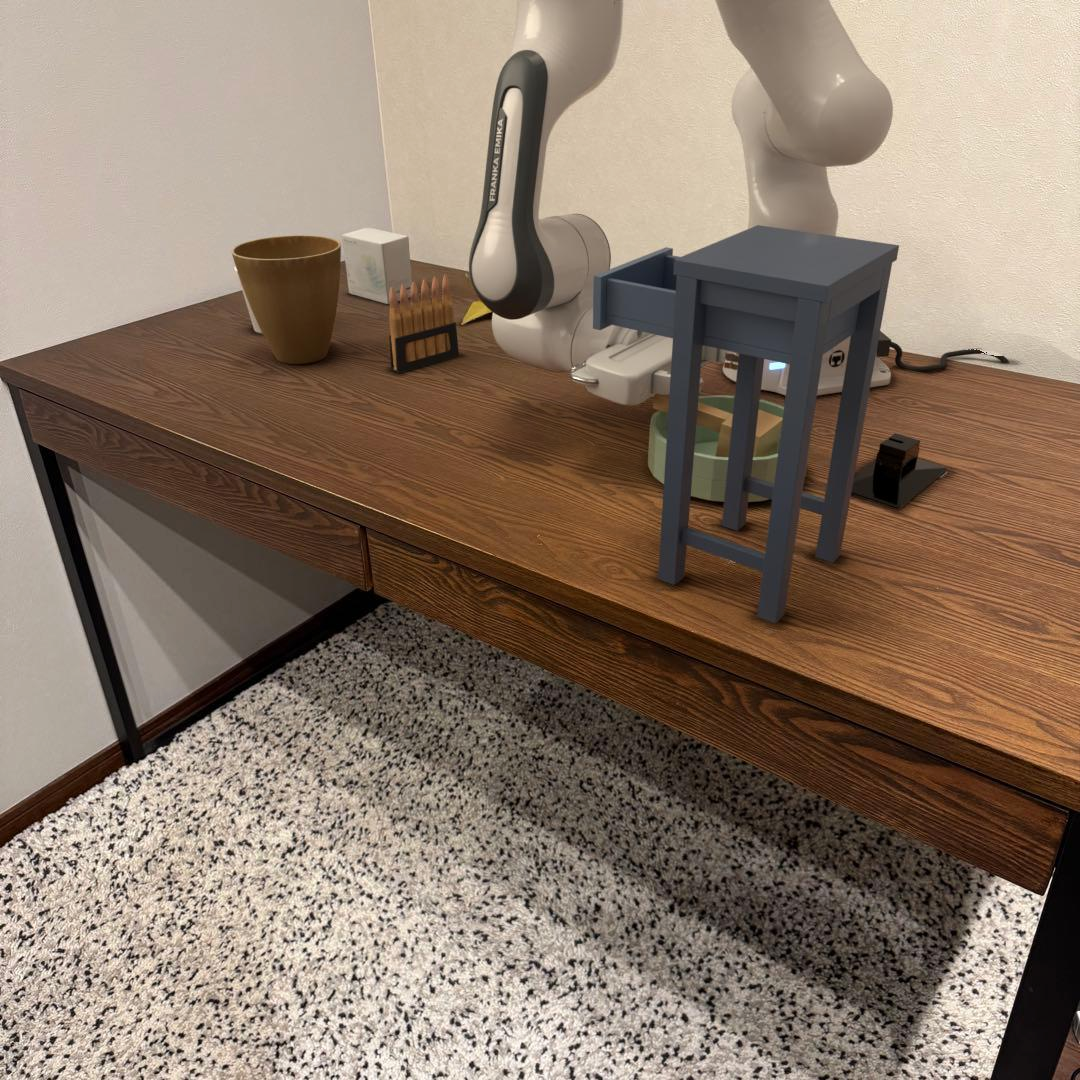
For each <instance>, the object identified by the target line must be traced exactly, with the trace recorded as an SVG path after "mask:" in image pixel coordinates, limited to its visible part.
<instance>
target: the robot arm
mask: <svg viewBox="0 0 1080 1080" xmlns="http://www.w3.org/2000/svg"><path fill="white" fill-rule="evenodd" d="M714 1H715V4H716V7H717V10H718V12H719V15H720V18H721V21H722V23H723V26H724V29H725V32H726V34H727V37H728V39H729V40H730V42H731V44H732V45H733V47H735V49H737V50H738V52H739V53H740V54H741V55H742V57H743V58H744V59H745V61H746V62H747V64H749V67H750V68H748V69H747V70H746V71H745V72H744V73H743V74H742V75H741V77H740V78H739V79H738V81H737V83H736V85H735V87H734V91H733V93H732V97H731V106H730V107H731V116H732V119H733V120H732V121H733V122H734V124H735V127H736V128H737V130H738V133H739V136H740V140H741V144H742V151H743V159H744V165H745V166H744V167H745V174H746V181H747V182H746V183H747V191H748V192H747V193H748V209H749V210H748V225H747V229H749V228H752V227H754V226H757V225H760V226H767V227H774V228H781V229H788V230H795V231H802V232H809V233H816V234H823V235H831V236H837V230H838V224H839V208H838V204H837V201H836V199H835V197H834V196H833V195H834V194H833V192H832V191H831V186H830V182H829V178H828V171H827V168H832V167H833V168H835V167H845V166H854V165H857V164H860V163H862V162H864V161H866V160H867V159H869V158H871V157H872V156H873V155H874V154H875V153H876V152H877V151H878V150H879V149H880V148H881V146H882V145H883V143H884V141H885V140H886V138H887V136H888V134H889V132H890V130H891V129H890V128H891V126H892V123H893V122H892V121H893V116H894V111H893V110H894V106H893V99H892V95H891V93H890V91H889V88H888V87H887V86H886V84H885V83H884V82H883V81H882V80H881V79H880V78H879V77H878V76H877V75H876V74H875V73H874V72H873V71H872V70H871V69H870V68H869V67H868V65H867V64H866V62H865V61H864V60H863V58H862V56H861V55H860V53H859V52H858V50H857V48H856V46H855V45H854V43H853V41H852V39H851V37H850V36H849V34H848V32H847V30H846V28H845V27H844V25H843V23H842V22H841V19H840V18H839V16H838V15H837V12H836V11H835V9H834V7H833V6H832V3H831V1H830V0H714ZM515 17H516V18H515V25H514V26H515V27H514V32H513V39H512V43H511V48H510V52H509V55H508V57H507V60H506V62H505V63H504V65H503V66H502V68H501V70H500V73H499V75H498V78H497V82H496V86H495V91H494V97H493V103H492V110H491V117H490V124H489V125H490V126H489V134H488V143H487V153H486V164H485V171H484V172H485V173H484V181H483V182H484V183H483V191H482V199H481V208H480V214H479V219H478V224H477V227H476V231H475V234H474V236H473V240H472V242H471V247H470V252H469V258H468V271H469V273H468V275H469V277H470V279H471V283H472V286H473V288H474V290H475V291H474V290H473V291H474V293H475V294H476V296H477V298H478V299H479V301H480V300H481V301H482V302H483V303H484V305H485V306H486V307H487V308H488V309H490V310H491V311H492V312H491V313H492V315H491V330H492V334H493V335H492V336H493V337H494V340H495V342H496V344H497V345H498V347H499V348H500V349H501V350H502V351H503V352H504V353H505V354H507V355H508V356H509V357H511V358H512V359H514V360H516V361H518V362H521V363H522V364H525V365H529V366H531V367H533V368H537V369H540V370H543V371H546V372H550V373H555V374H563V373H567V374H569V378H570V379H571V381H572V382H574V383H577V384H580V385H585V390H586V391H587V392H588V393H590V394H592V395H594V396H596V397H599V398H600V399H604V400H607V401H609V402H613V403H615V404H618V405H622V406H638V405H640V404H642V403H643V402H645V401H647V400H649V399H650V398H652V397H654V396H655V394H661V395H669V393H670V377H671V361H672V345H673V338H669V337H664V336H660V335H655V334H651V333H646V332H642V331H637V330H633V329H628V328H624V327H619V326H615V325H611V326H608V327H606V328H604V329H602V330H596V329H593V288H594V275H597V274H599V273H602V272H604V271H607V270H609V269H611V264H612V263H611V261H612V254H611V248H610V243H609V240H608V238H607V235H606V233H605V232H604V230H603V229H602V227H601V226H600V225H599V224H598V223H597V222H596V221H595V220H594V219H592V218H591V217H589V216H587V215H585V214H581V213H569V214H561V215H560V214H559V215H553V216H546V217H544V218H539V217H540V215H539V213H540V204H541V196H542V188H543V181H544V171H545V164H546V162H545V161H546V154H547V147H548V143H549V140H550V136H551V134H552V131H553V129H554V127H555V125H556V124H557V123H558V122H559V119H560V118H561V117H562V115H564V114H565V113H566V112H567V110H569V108H571V107H572V106H573V105H574V104H575V103H576V102H578V101H579V100H581V99H583V98H584V97H586V96H588V95H589V94H590V93H591V92H593V91H594V90H595V89H597V88H598V87H599V86H600V85H601V84H602V83H603V82H604V81H605V80H606V79H607V77H608V76H609V75H610V73H611V72H612V70H613V69H614V67H615V65H616V62H617V58H618V54H619V50H620V45H621V40H622V34H623V33H622V32H623V22H624V20H623V19H624V0H516V16H515ZM850 339H851V336H850V337H848V338H847V339H845V340H844V341H842V342H841V343H839V344H838V345H836V346H835V347H834V348H832V349H831V350H829V351H828V352H826V353H825V354H823V357H822V364H821V370H820V377H819V384H818V391H817V396H823V395H829V394H830V395H831V394H836V393H842V388H843V382H844V376H845V369H846V363H847V357H848V351H849V345H850ZM891 348H892V349H893V350H894V351H895V353H896V354H895V358H894V364H896V366H897V367H898V368H899V369H901V370H907V371H912V372H915V373H916V372H918V373H926V372H927V373H928V372H936V371H941V370H943V369H944V368H946V366H947V364H948V363H947V361H948V360H947V359H948V358H949V359H950V358H955V357H960V356H961V357H962V356H968V355H982V354H981V353H984V352H982V351H980V350H977V349H978V348H967V349H968V350H966V349H960V350H953V351H947V352H945V353H943V354H942V355H941V357H940V363H938V364H932V365H924V366H913V365H909V364H906V363H904V362H903V361H902V356H903V349H902V347H901V346H900V345H899V344H898V343H896V342H894V341H892V339H891V338H890V337H889V336H887V335H886V334H885V333H884V332H883V331H881V330H880V335H879V340H878V346H877V351H876V357H875V363H874V368H873V374H872V380H871V385H870V388H877V387H882V386H883V387H884V386H888V385H890V383H891V380H892V371H891V370H890V368H889V367H888V365H887V364H886V363H885V362H884V361H883V360H882V359H880V358H884V357H885V358H886V357H889V355H890V350H891ZM970 349H971V350H970ZM974 349H976V350H974ZM986 353H987V352H986ZM983 355H986V356H988V355H987V354H985V353H984V354H983ZM989 356H990V357H994V358H995V359H997V360H999V361H1000V362H1001V363H1002V364H1008V365H1009V364H1010V361H1009V360H1008V358H1007V357H1005V355H1003V356H994V355H989ZM738 357H739V353H736V352H731V351H727V350H722V349H718V348H713V347H709V346H704V345H703V346H702V359H701V368H703V367H705V366H706V365H708V364H709V363H717V362H719V363H721V364H723V365H722V372H723V374H724V375H725V376H726V378H728V379H729V380H731V381H733V382H735V383H736V377H737V367H738ZM789 366H790V364H785V363H781V362H776V361H772V360H767V359H764V367H763V375H762V384H761V391H768V392H774V393H776V394H779V395H782V396H785V397H786V389H787V381H788V373H789ZM703 391H704V378H703V377H702V376H700V384H699V394H700V393H702V392H703Z"/></svg>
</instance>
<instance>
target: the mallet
mask: <svg viewBox="0 0 1080 1080" xmlns="http://www.w3.org/2000/svg"><path fill="white" fill-rule="evenodd" d="M652 409H654V410H657V411H658V410H659V411H662V412H665V413H667V414H668V409H669V395H661V394H655V395H654V396H653V404H652ZM732 417H733V414H731V413H728V412H725V411H722V410H720V409H717V408H714V407H711V406H708V405H705V404H703V403H700V402H698V410H697V422H696V424H697V425H700V426H703V427H705V428H708V429H711V430H713V431H716V432H719V433H720V434H719V439H718V445H717V450H716V455H715V457H729V447H730V437H731V427H732ZM782 420H783V418H782V417H779V416H776V415H773V414H770V413H767V412H764V411H761V410H758V419H757V428H756V436H755V445H754V454H753V457H766V456H770V455H774V454H776V451H777V447H778V443H779V439H780V434H781V427H782Z"/></svg>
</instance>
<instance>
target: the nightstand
mask: <svg viewBox="0 0 1080 1080" xmlns="http://www.w3.org/2000/svg"><path fill="white" fill-rule="evenodd" d="M899 250H900V245H899V244H894V243H887V242H878V241H872V240H867V239H866V240H865V239H858V238H851V237H844V236H837V235H836V236H831V235H823V234H816V233H809V232H802V231H795V230H788V229H781V228H774V227H767V226H760V225H757V226H754V227H752V228H749V229H748V228H747V229H745V230H742V231H740V232H737V233H735V234H732V235H730V236H727V237H725V238H723V239H721V240H718V241H716V242H713V243H711V244H709V245H706V246H704V247H701V248H699V249H697V250H694V251H692V252H689V253H687V254H685V255H682V256H680V255H679V256H677V255H673V253H674V248H672V247H667V246H666V247H663V248H661V249H658V250H655V251H653V252H650V253H648V254H645V255H642V256H639V257H637V258H635V259H632V260H630V261H627V262H624V263H622V264H619V265H617V266H614V267H612V268H610V269H609V270H607V271H604V272H602V273H599V274H597V275H594V288H593V329H596V330H602V329H604V328H606V327H608V326H611V325H615V326H619V327H624V328H628V329H633V330H637V331H642V332H646V333H651V334H655V335H660V336H664V337H669V338H673V345H672V361H671V377H670V393H669V409H668V425H667V441H666V458H665V474H664V484H663V491H662V508H661V523H660V524H661V525H660V539H659V556H658V574H657V580H660V581H662V582H665V583H667V584H669V585H672V586H676V585H677V584H678V583H679V582H680V581H681V580H682V579H684V578H685V573H686V561H687V547H691V548H693V549H696V550H700V551H702V552H705V553H708V554H710V555H714V556H716V557H719V558H722V559H725V560H727V561H731V562H734V563H736V564H739V565H742V566H744V567H747V568H750V569H753V570H756V571H759V572H762V574H761V583H760V591H759V597H758V604H757V612H756V617H757V618H759V619H762V620H764V621H766V622H769V623H772V624H777V623H778V622H779V621H780V620H781V619H782V618H783V617H784V616H785V613H786V608H787V600H788V593H789V587H790V586H789V585H790V580H791V572H792V566H793V559H794V554H795V553H794V552H795V544H796V537H797V533H798V532H797V531H798V526H799V518H800V512H801V510H804V511H807V512H810V513H814V514H817V515H820V516H821V518H820V524H819V529H818V530H819V531H818V535H817V542H816V549H815V554H814V557H815V558H817V559H820V560H822V561H826V562H828V563H831V564H834V563H835V561H836V560H838V558H839V557H840V556H841V552H842V549H843V542H844V535H845V530H846V524H847V520H848V514H849V508H850V503H851V498H852V495H851V492H852V486H853V481H854V475H855V473H856V468H857V462H858V457H859V453H860V447H861V441H862V435H863V429H864V424H865V418H866V412H867V406H868V401H869V396H870V390H871V387H870V385H871V380H872V374H873V368H874V363H875V357H876V351H877V346H878V340H879V335H880V331H881V328H882V323H883V317H884V312H885V306H886V302H887V295H888V289H889V283H890V277H891V273H892V266H893V263H894V262H896V261H897V259H898V254H899ZM850 336H851V339H850V345H849V351H848V357H847V363H846V369H845V376H844V382H843V388H842V392H841V393H840V394H841V395H840V401H839V407H838V414H837V420H836V425H835V431H834V437H833V443H832V450H831V456H830V462H829V468H828V474H827V480H826V481H827V482H826V487H825V493H824V497H821V496H817V495H814V494H810V493H807V492H804V484H805V479H806V476H805V472H806V473H807V469H806V465H807V466H808V462H807V458H808V459H809V455H808V452H809V453H810V449H809V445H810V446H811V442H810V438H811V439H812V431H813V426H814V425H813V424H814V418H815V410H816V403H817V397H818V395H817V391H818V384H819V377H820V370H821V364H822V357H823V354H825V353H826V352H828V351H829V350H831V349H832V348H834V347H835V346H836V345H838V344H839V343H841V342H842V341H844V340H845V339H847V338H848V337H850ZM703 345H704V346H709V347H713V348H718V349H722V350H727V351H731V352H736V353H739V357H738V367H737V377H736V382H735V387H734V388H735V389H734V396H735V397H734V407H733V417H732V427H731V437H730V447H729V457H728V467H727V477H726V487H725V497H724V502H723V508H722V519H721V527H724V528H727V529H731V530H733V531H735V532H738V531H739V530H740V529H741V528H743V527H744V526H745V525H746V522H747V514H748V505H749V502H748V497H749V493H752V494H755V495H758V496H761V497H765V498H768V500H771V507H770V513H769V522H768V529H767V536H766V543H765V552H762V551H758V550H756V549H752V548H750V547H747V546H744V545H742V544H738V543H735V542H733V541H730V540H727V539H724V538H721V537H717V536H715V535H712V534H710V533H706V532H704V531H700V530H697V529H695V528H693V527H689V523H690V511H691V510H690V508H691V497H692V496H691V486H692V473H693V460H694V448H695V435H696V422H697V410H698V397H699V396H700V393H699V384H700V377H701V373H702V372H701V370H702V369H701V368H702V367H701V359H702V346H703ZM764 359H767V360H772V361H776V362H781V363H785V364H790V366H789V373H788V381H787V389H786V396H785V397H784V403H783V404H784V405H783V406H784V412H783V420H782V427H781V435H780V443H779V451H778V458H777V466H776V474H775V481H774V483H771V482H767V481H764V480H761V479H757V478H754V477H751V471H752V462H753V454H754V445H755V436H756V428H757V419H758V410H759V402H760V400H761V392H762V390H761V384H762V375H763V367H764Z"/></svg>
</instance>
